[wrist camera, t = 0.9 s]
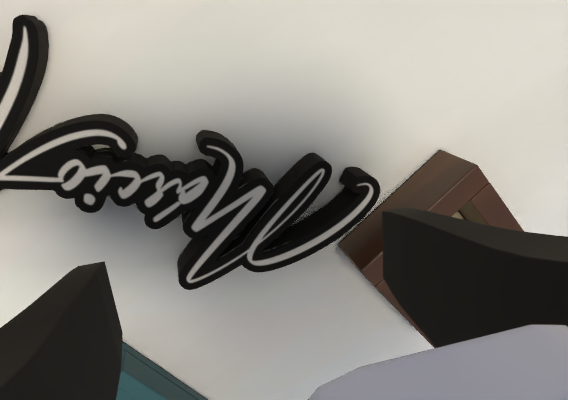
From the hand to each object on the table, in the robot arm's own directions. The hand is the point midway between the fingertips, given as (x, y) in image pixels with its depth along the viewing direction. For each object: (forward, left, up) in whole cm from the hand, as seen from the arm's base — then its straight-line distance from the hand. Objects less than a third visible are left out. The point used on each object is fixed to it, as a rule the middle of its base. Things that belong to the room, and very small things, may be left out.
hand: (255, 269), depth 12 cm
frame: (-11, -5, -10) cm, 15 cm away
